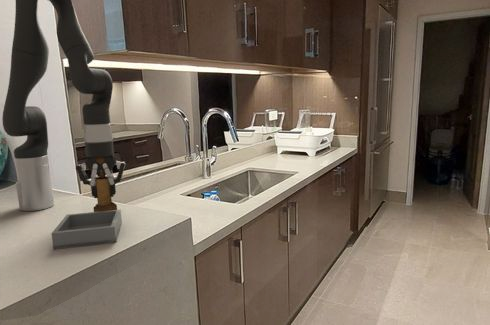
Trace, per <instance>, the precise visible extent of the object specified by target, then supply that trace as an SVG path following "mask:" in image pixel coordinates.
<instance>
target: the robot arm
mask: <svg viewBox="0 0 490 325" xmlns="http://www.w3.org/2000/svg"><path fill="white" fill-rule="evenodd" d="M48 1H49V2H50V4H52V6H53V8H54V10H55V12H56V14H57V25H56V36H57V42H59V45H60V47H61V49H62V51H63V54H64V56H65V57H66V59H67V64H68V68H69V74H70V79H71V83H72V85H73V87H74V88H75V89H76V90H77V91H78V92H79V93H80V94H83V95H92V98H91V101H89V102H87V103H85V104H84V105H82V110H81V111H82V118H83V119H82V120H83V140H84V148H85V155H86V156H85V157H86V159H85V161H84V162H83V163H79V164H77V165H76V166H75V169H76V171H77V174H78V175H79V177H80V180H81V181H82V183H83V185H87V186H90V192H91V196H92V197H94V199H97V189H96V178H97V177H99V174H100V173H101V172H100V170H103V171H102V174H105V176H107V178H108V179H109V182H110V195H111V198H112V197H113V198H114V197H115V195H116V193H117V188H116V187H117V186H116V184H117V183H120V182H121V180H122V178H123V173H124V171H125V168H126V161H118V160H117V159H116V157H115V152H114V150H115V149H114V141H113V140H114V139H113V129H112V126H111V116H110V107H111V103H112V102H111V100H112V95H113V88H114V84H113V79H112V77H111V75H110V73H109V72H108V71H106V70H105V69H103V68H102V69H101V68H92V67H90V66H89V64H91V63H92V62H93V61H94V59H95V58H94V57H95V55H94V52H93V49H92V48H91V46H90V44H89V42H88V40H87V38H86V35H85V34H84V32H83V29H82V27H81V25H80V22H79V20H78V16H77V13H76V10H75V6H74V3H73V0H48ZM38 3H39V0H15V17H14V29H13V38H12V46H11V55H10V70H9V71H10V72H9V80H8V86H7V92H6V95H5V102H4V105H3V110H2V119H1V121H2V128H3V130H4V132H5V134H7V135H8V136H9V137H26V140H25V141H24V142H23V143H22V144H21V145H19V146H17V147H15V149H14V150H13V155H14V161H15V169H16V175H17V181H16V182H15V188H16V194H17V201H18V209H19V211H25V212H30V211H31V212H33V211H39V210H45V209H49V208H51V207H54V205H55V201H54V193H53V187H52V186H53V185H52V179H51V178H52V177H51V171H50V162H49V156H48V155H49V154H48V148H49V135H48V122H47V117H46V114H45V112H44V111H43V110H42V108H40V107H39V106H35V105H34V106H33V105H32V106H31V105H30V106H26V105H27V101H28V99H29V98H28V97H29V96H30V94H31V93H32V91H33V89H34V88H35V87H36V85H37V84H38V83H39V82H40V81H41V79H42V78H43V77H44V76H45V74H46V72H47V69H48V63H49V57H50V56H49V54H50V46H49V43H48V42H49V41H48V39H47V38H46V35H45V33H44V30H43V28H42V26H41V24H40V21H39V16H38V5H39V4H38ZM100 157H102V158H104V162H103V163H102V164H99V163H98V162H97V161H96V159H97V158H100ZM115 165H116V168H117V170H118V172H117V176H116V177H115V176H114V173H113V168H114V167H115ZM86 169H89V170H90V172H91V175H90V179H89V177H88V174H87V173H86Z"/></svg>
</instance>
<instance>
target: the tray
mask: <svg viewBox="0 0 490 325" xmlns="http://www.w3.org/2000/svg"><path fill="white" fill-rule="evenodd" d="M121 210H122V209H117V210H110V211H100V212H94V211H93V212H91V211H90V212H81V213H69V214H66V215H65V216H64V217H63V218H62V219H61V221H60V222H59V223H58V225H57V226H56V227H55V228H54V230H52V232H51V240H52V247H53V248H52V249H53V250H60V249H68V248H77V247H86V246H87V247H88V246H95V245H103V244H104V245H105V244H112V243H116V242H117V240H118V236H119V234H120V231H121V228H122V227H121V226H122V223H123V219H122V211H121Z"/></svg>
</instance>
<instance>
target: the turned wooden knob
mask: <svg viewBox="0 0 490 325" xmlns="http://www.w3.org/2000/svg"><path fill="white" fill-rule="evenodd" d="M96 161H97V162H98V163H99V164H102V163H103V162H104V158H102V157H100V158H97V159H96ZM102 171H103V170H100V172H101V173H100V174H99V175H98V176H97V178H96V189H97V198H96V200H97V203H96V204H95V206H93V212H100V211H110V210H118V205H117V204H116V203H115V202H113V200H112V197H111V195H110V182H109V179H108V178H107V175H106V174H102Z"/></svg>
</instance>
